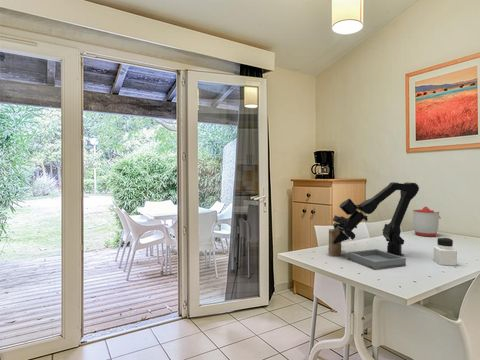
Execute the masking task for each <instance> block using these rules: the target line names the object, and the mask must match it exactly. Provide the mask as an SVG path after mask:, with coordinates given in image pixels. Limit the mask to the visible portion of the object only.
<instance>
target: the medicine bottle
mask: <svg viewBox="0 0 480 360" xmlns="http://www.w3.org/2000/svg"><path fill="white" fill-rule="evenodd" d="M453 244H454V240H453V239H452V238H449V237H438V238H437V246H433V262H435V263H436V264H438V265H440V266H452V267H453V266H455V267H456V266H457V263H458V262H457V260H458V259H457V255H458V254H457V253H458V252H457V250H456V249H455V248H454V247H453V246H454V245H453Z"/></svg>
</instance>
